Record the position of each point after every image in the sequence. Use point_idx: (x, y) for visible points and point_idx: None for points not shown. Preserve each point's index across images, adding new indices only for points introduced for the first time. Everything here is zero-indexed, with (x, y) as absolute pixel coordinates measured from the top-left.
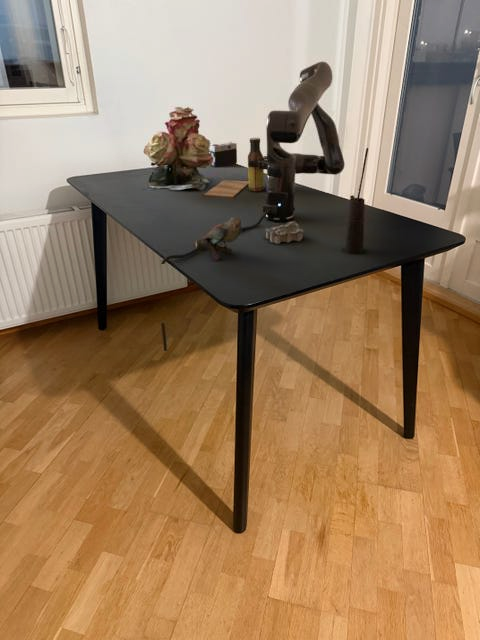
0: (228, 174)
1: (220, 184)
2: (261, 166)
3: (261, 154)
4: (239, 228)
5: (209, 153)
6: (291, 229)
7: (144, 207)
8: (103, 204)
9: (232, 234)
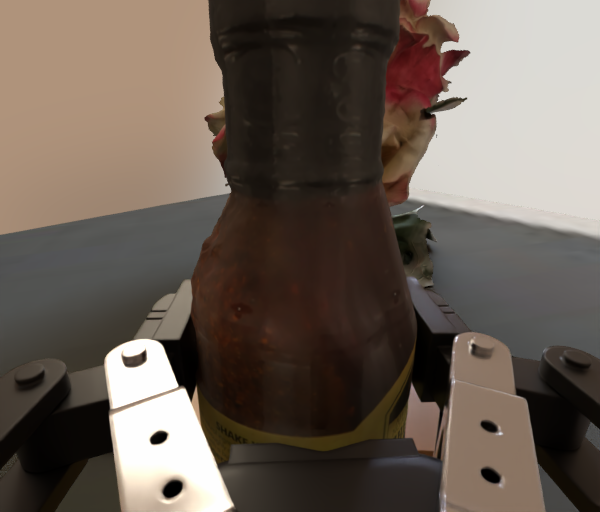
0: (577, 325)
1: None
2: (19, 454)
3: (300, 280)
4: None
5: (407, 179)
6: None
7: (40, 252)
8: (105, 216)
9: None
